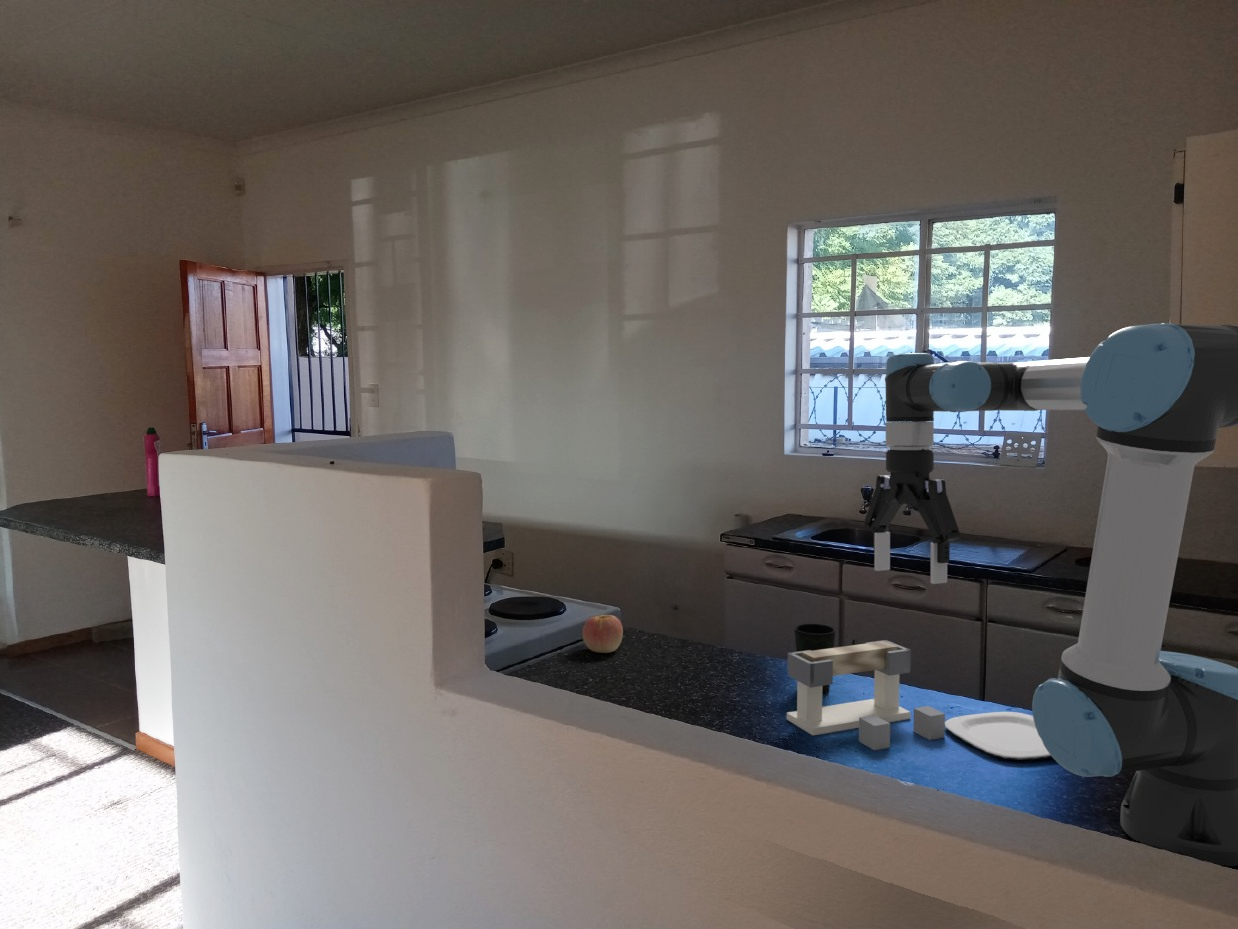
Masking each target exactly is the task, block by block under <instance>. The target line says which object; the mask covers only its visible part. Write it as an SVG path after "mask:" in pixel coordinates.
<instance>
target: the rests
mask: <svg viewBox="0 0 1238 929" xmlns="http://www.w3.org/2000/svg"><path fill="white" fill-rule="evenodd" d="M945 721H946V713H944V712H942V711H939V710H938V709H936V708H934V707H931V706H929V705H925V706H921V707H920V706H919V707H914V708H913V731H912V732H914V733H916V734H918V735H919V736H921V737H923V738H926V739H927V740H929V741H933V740H937V739H942V738H945V731H946V727H945ZM858 742H860V743H861V744H863V745H864V746H866V747H868V748H870V749H871V750H873V751H878V750H884V749H890V748H891V747H890V744H891V722H887V721H885V720H883V719H881V718H879V717H877V716H875V715H871V716H865V717H859V728H858Z"/></svg>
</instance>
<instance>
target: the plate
mask: <svg viewBox="0 0 1238 929" xmlns="http://www.w3.org/2000/svg"><path fill="white" fill-rule="evenodd" d="M945 730H947V731H948V732H950V733H951V734H952V735H953V736H955V737H957V738H959V739H960V740H962V741H963V742H965V743H967V744H968V745H970V746H972V747H974V748H976V749H977V750H979V751H981V752H984V753H986V754H988V755H989V756H990V755H991V756H993V757H997V758H1001V759H1004V760H1005V759H1007V760H1017V761H1023V760H1024V761H1026V760H1039V759H1047V758H1053V757H1052V756H1051V755H1050V753H1049V752H1048V751H1047V749H1046V748H1045V746H1044V744H1043V742H1042V739H1041V738H1040V736H1039V735H1038V732H1037V730H1036V727H1035V723H1034V719H1033V715H1031V714H1027V713H1024V712H1023V713H1022V712H1017V711H1016V712H1014V711H994V712H993V711H992V712H984V713H983V712H982V713H975V714H974V713H973V714H968V715H960V716H955V717H951V718H949V719H947V720H945Z"/></svg>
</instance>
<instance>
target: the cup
mask: <svg viewBox="0 0 1238 929" xmlns="http://www.w3.org/2000/svg"><path fill="white" fill-rule="evenodd" d="M793 630H794V641H795V642H794V643H795V650H796V651H795V652H799V651H807V650H811V651H814V650H822V649H829V648H835V640H836V639H835V638H836V633H837V632H836V629H835V627H833V626H830V625H827V624H822V623H803V624H798V625H796V626H794V629H793ZM830 686H831V685H824V686H822V696H823V695H827V694H829V693H830Z"/></svg>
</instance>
